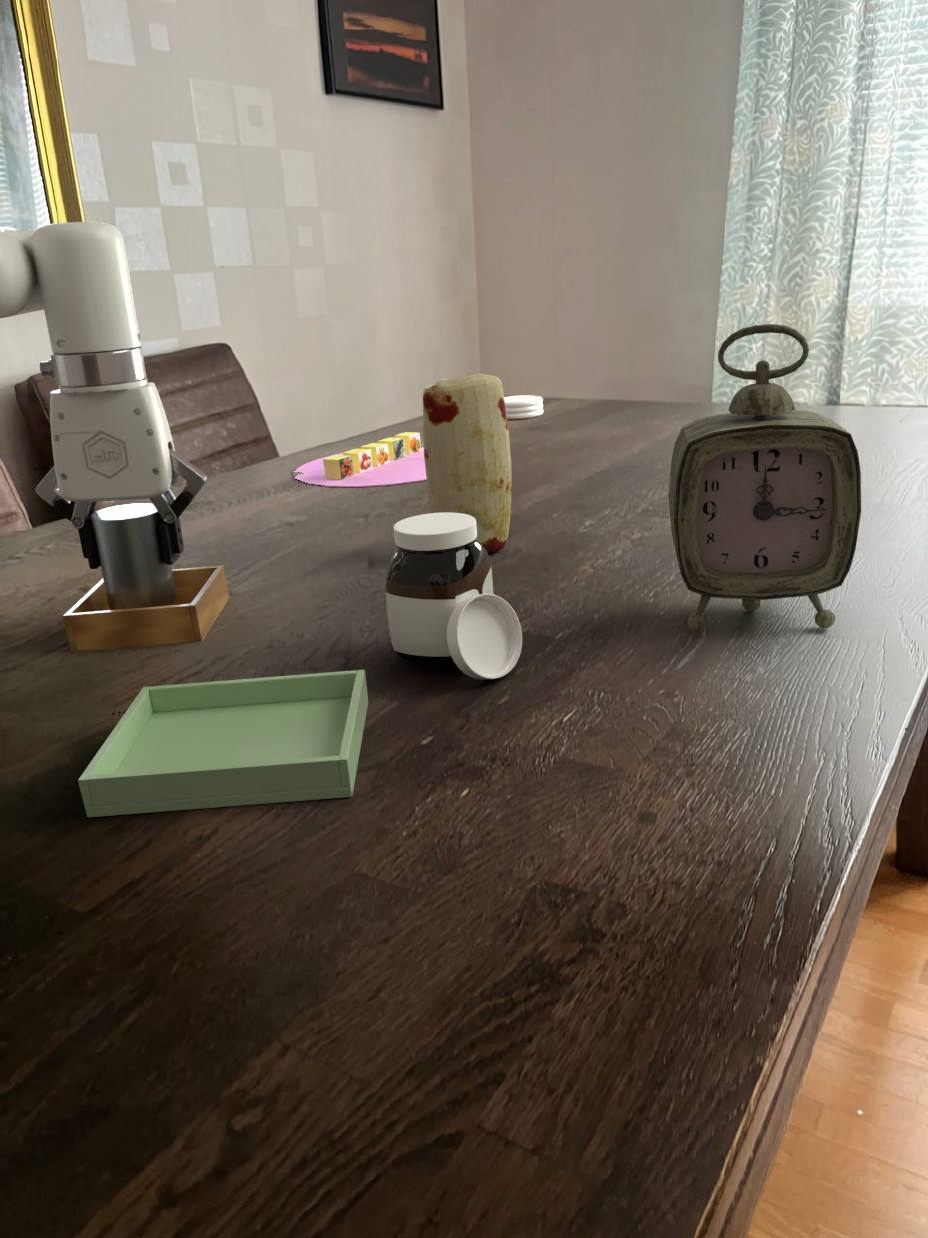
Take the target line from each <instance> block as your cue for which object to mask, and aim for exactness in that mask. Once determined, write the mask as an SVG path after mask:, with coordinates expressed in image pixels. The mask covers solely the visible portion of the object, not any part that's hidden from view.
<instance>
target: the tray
mask: <svg viewBox="0 0 928 1238" xmlns="http://www.w3.org/2000/svg"><path fill="white" fill-rule="evenodd" d="M366 677H367V676H366V670H365V669H358V670H354V669H353V670H343V671H341V670H340V671H330V672H317V673H304V674H292V675H278V676H277V675H276V676H266V677H255V678H254V677H253V678H243V679H242V678H241V679H230V680H215V681H205V682H191V683H178V684H164V685H155V686H154V685H153V686H142V687H141V689H140V691H139V692H138V693H137V695H136V697H135V698H134V699H133V701H132V702H131V704H130V705H129V707H128V708H127V709H126V710H125V712H124V714H123V715H122V716H121V718H120V719H119V720H118V722H117V724H115V726H114V728H113V729H112V731H111V732H110V734H109V735H108V736H107V738H106V739H105V741H104V742H103V744H102V745H101V747H99V749H98V751H97V752H96V754H95V756H93V758H92V760H91V761H90V762H89V764H88V765H87V767H86V768H85V769H84V771H83V772H82V773H81V775H80V777H79V778H78V780H77V781H78V782H77V783H78V786H79V791H80V794H81V799H82V803H83V807H84V810H85V814H86V817H87V818H98V817H99V818H100V817H112V816H113V817H114V816H126V815H137V814H150V813H151V814H152V813H162V812H163V813H164V812H165V813H166V812H176V811H178V812H179V811H191V810H202V809H215V808H216V809H217V808H227V807H228V808H229V807H241V806H253V805H254V806H255V805H266V804H267V805H268V804H279V803H292V802H293V803H294V802H306V801H315V800H316V801H318V800H319V801H320V800H330V799H343V798H345V799H346V798H352V797H353V794H354V790H355V782H356V777H357V771H358V766H359V759H360V753H361V748H362V742H363V737H364V731H365V730H364V729H365V724H366V718H367V713H368V709H369V708H368V707H369V694H368V686H367V678H366Z"/></svg>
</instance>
